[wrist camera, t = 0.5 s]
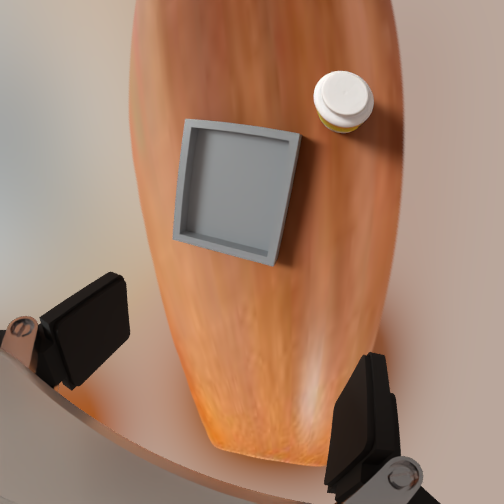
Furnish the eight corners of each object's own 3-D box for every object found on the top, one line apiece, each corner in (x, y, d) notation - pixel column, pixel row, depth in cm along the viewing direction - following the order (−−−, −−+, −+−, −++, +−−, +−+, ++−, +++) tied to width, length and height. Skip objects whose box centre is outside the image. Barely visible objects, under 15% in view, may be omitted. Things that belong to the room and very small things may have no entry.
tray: (194, 120, 34) (185, 118, 31) (302, 135, 31) (299, 133, 29) (181, 234, 40) (172, 239, 37) (277, 259, 37) (273, 266, 35)
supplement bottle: (358, 139, 29) (370, 133, 20) (313, 126, 30) (305, 114, 21) (368, 96, 27) (383, 74, 18) (322, 83, 28) (318, 56, 19)
